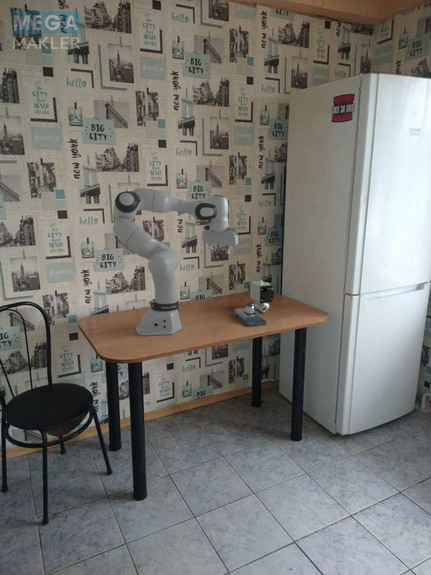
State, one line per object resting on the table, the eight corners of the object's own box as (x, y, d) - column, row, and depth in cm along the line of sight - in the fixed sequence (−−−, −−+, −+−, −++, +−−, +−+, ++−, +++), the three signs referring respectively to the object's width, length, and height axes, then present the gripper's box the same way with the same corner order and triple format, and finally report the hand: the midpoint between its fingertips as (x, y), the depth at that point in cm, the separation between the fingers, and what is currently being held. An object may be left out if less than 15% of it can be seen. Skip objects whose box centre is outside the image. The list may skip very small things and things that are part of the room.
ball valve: (275, 314, 228) (276, 282, 224) (262, 316, 225) (262, 284, 221) (260, 305, 244) (261, 276, 240) (247, 307, 241) (247, 277, 237)
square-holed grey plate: (247, 326, 208) (248, 319, 208) (234, 315, 227) (234, 308, 226) (266, 324, 211) (266, 318, 210) (251, 313, 230) (251, 307, 229)
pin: (248, 321, 216) (248, 305, 214) (244, 319, 220) (244, 302, 218) (255, 320, 218) (256, 304, 216) (251, 318, 222) (252, 301, 220)
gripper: (240, 227, 215) (240, 253, 218) (206, 225, 225) (206, 250, 228) (234, 228, 210) (234, 255, 213) (200, 226, 219) (200, 252, 223)
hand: (220, 252), depth 221 cm, fingers open, 8 cm apart
